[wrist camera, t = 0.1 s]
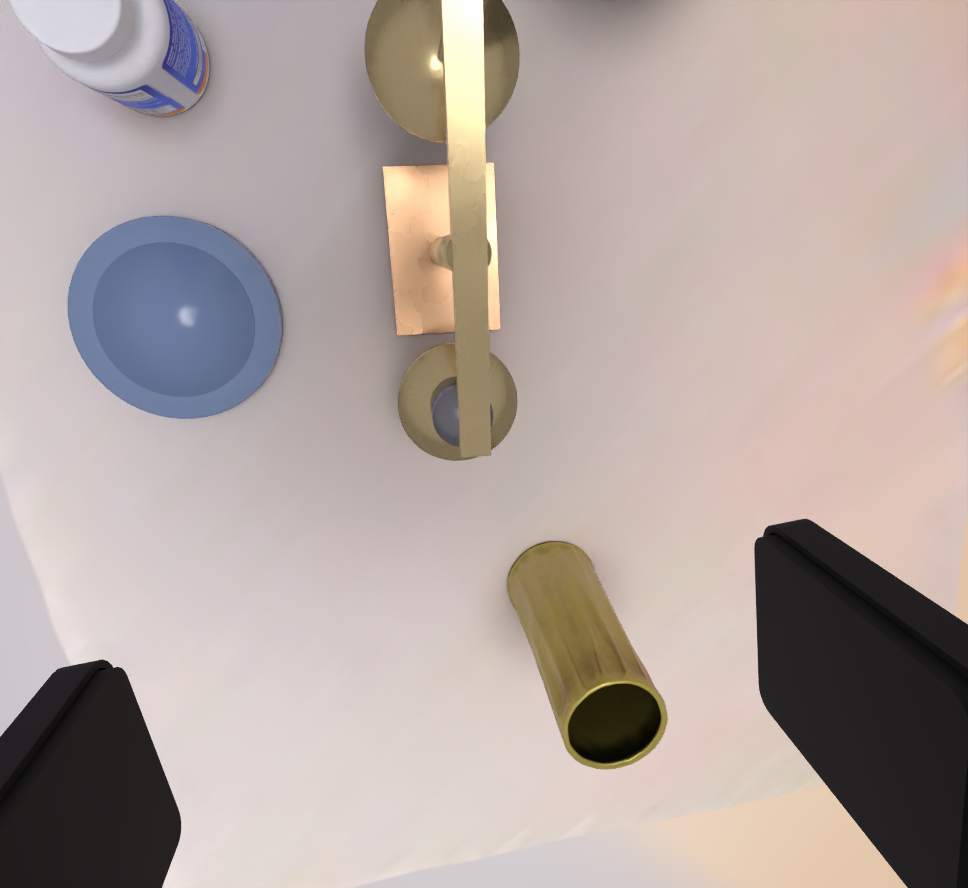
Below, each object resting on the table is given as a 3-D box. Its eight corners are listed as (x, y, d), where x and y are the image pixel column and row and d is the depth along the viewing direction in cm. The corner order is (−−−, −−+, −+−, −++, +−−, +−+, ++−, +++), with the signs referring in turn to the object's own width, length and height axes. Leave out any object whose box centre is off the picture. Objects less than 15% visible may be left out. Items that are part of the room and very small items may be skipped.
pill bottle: (149, -26, 32) (47, -137, 23) (234, 67, 34) (171, -2, 24) (76, 54, 33) (-52, -21, 23) (163, 142, 34) (75, 104, 25)
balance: (368, 35, 34) (335, -171, 17) (489, 33, 35) (570, -167, 18) (403, 438, 40) (403, 571, 24) (504, 430, 41) (574, 554, 24)
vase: (492, 603, 45) (531, 759, 31) (531, 527, 43) (590, 655, 30) (569, 631, 46) (639, 791, 32) (609, 558, 45) (699, 693, 31)
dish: (57, 221, 35) (43, 220, 33) (268, 212, 36) (263, 211, 35) (102, 420, 38) (91, 426, 37) (294, 406, 39) (290, 412, 38)
